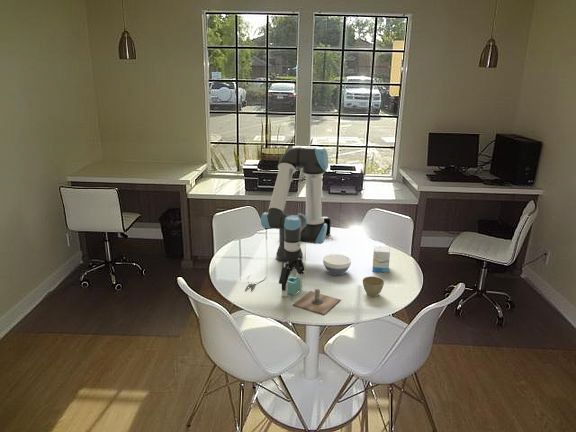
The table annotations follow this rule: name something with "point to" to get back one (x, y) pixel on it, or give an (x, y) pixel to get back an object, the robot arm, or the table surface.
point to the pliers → (251, 286)
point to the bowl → (336, 264)
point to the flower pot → (373, 285)
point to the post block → (317, 302)
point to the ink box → (381, 259)
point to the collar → (293, 285)
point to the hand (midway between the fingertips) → (291, 290)
